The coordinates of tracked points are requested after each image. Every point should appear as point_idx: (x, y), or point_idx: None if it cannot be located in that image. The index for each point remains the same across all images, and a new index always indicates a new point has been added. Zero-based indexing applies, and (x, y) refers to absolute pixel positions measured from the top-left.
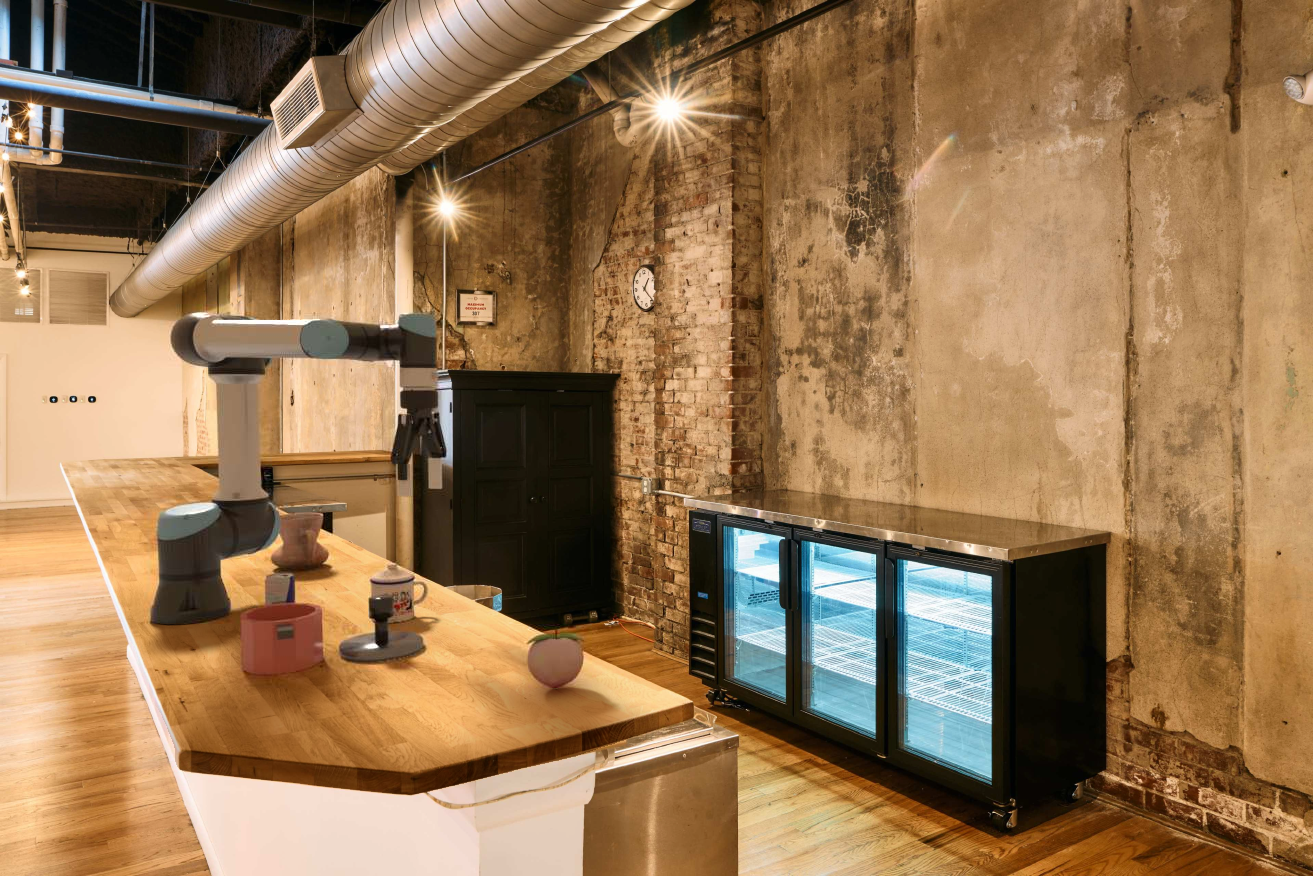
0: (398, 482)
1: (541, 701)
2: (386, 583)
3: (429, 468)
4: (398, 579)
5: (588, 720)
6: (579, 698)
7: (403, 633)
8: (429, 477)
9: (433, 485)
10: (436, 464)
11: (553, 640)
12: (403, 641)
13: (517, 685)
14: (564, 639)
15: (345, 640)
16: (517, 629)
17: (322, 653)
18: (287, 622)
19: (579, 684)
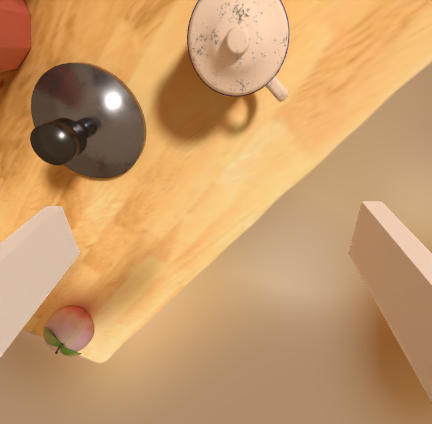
0: (1, 248)
1: (56, 306)
2: (190, 57)
3: (422, 285)
4: (205, 81)
5: None
6: None
7: (134, 133)
8: (387, 241)
9: (363, 233)
10: (423, 350)
11: (50, 346)
12: (105, 152)
13: (73, 286)
14: (58, 351)
15: (69, 64)
16: (223, 240)
17: (9, 69)
18: None
19: (98, 318)
